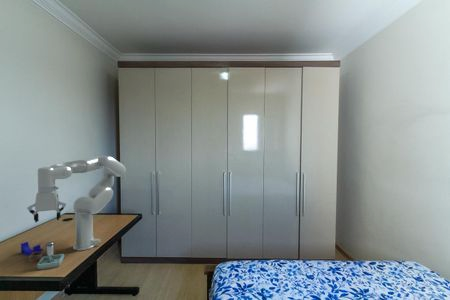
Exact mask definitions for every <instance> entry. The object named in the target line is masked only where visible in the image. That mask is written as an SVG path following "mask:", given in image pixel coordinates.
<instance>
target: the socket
mask: <svg viewBox="0 0 450 300" xmlns="http://www.w3.org/2000/svg"><path fill="white" fill-rule="evenodd" d="M43 256H46V250H43V251H37V252H32V253H31V255H30V256H29V255H28V258H27V260H28V261H27V262H28V263H31V262H32V263H33V262H39V261H40V260H41V259H42V257H43Z"/></svg>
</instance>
